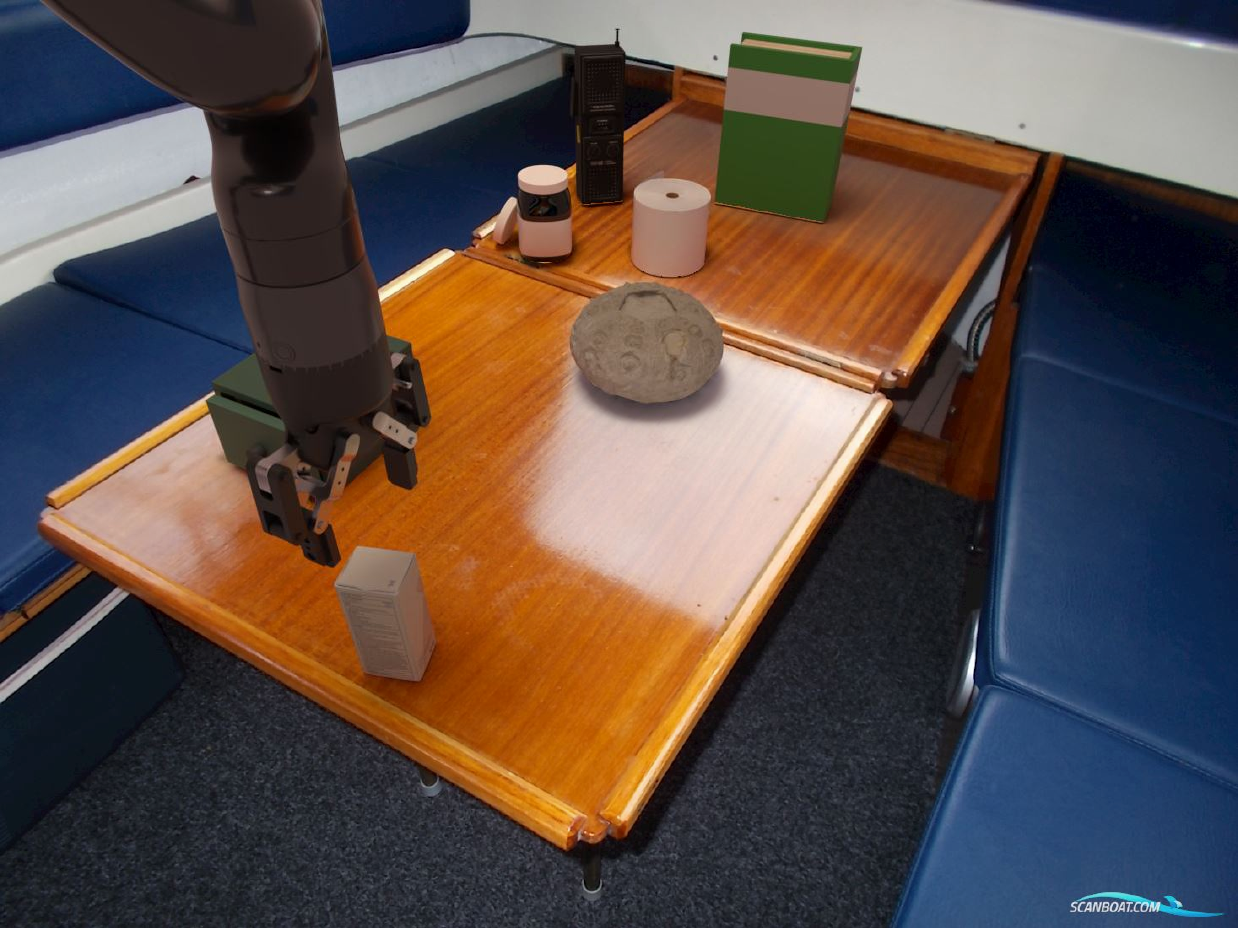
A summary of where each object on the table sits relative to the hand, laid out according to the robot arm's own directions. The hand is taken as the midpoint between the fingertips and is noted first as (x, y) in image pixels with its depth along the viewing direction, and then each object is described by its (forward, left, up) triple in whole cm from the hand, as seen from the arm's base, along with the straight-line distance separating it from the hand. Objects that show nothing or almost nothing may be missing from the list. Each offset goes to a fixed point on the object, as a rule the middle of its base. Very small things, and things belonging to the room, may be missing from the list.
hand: (366, 521), depth 61 cm
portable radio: (+87, +27, -16) cm, 92 cm away
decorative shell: (+46, -1, -16) cm, 49 cm away
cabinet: (+20, +24, -16) cm, 35 cm away
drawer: (+17, +24, -15) cm, 33 cm away
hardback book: (+99, +1, -16) cm, 100 cm away
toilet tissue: (+74, +9, -16) cm, 76 cm away
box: (0, 0, -16) cm, 16 cm away
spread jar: (+67, +27, -16) cm, 74 cm away
